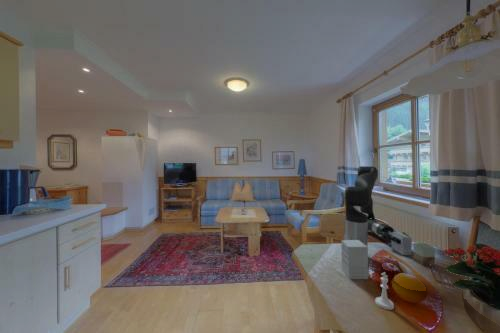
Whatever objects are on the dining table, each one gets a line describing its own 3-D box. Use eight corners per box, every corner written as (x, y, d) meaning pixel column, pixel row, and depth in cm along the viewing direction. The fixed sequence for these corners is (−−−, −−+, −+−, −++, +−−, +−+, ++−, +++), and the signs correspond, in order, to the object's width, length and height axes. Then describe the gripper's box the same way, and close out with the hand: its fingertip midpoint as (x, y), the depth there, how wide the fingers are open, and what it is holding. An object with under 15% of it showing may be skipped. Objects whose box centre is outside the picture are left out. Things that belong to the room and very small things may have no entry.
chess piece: (387, 311, 60) (387, 278, 60) (371, 301, 64) (371, 270, 64) (397, 306, 62) (397, 274, 62) (381, 297, 66) (381, 267, 66)
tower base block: (422, 266, 86) (422, 257, 86) (413, 260, 91) (413, 251, 91) (434, 266, 86) (434, 257, 86) (424, 260, 91) (424, 251, 91)
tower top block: (423, 257, 86) (423, 247, 86) (413, 251, 91) (413, 243, 91) (434, 257, 86) (434, 247, 86) (425, 251, 91) (425, 243, 91)
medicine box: (411, 255, 95) (412, 237, 95) (402, 255, 96) (402, 237, 95) (399, 248, 103) (399, 231, 103) (391, 248, 103) (391, 231, 103)
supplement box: (359, 269, 84) (359, 239, 83) (368, 280, 76) (368, 247, 76) (341, 269, 84) (340, 239, 84) (348, 279, 77) (348, 246, 77)
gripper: (369, 223, 114) (390, 234, 97) (395, 223, 113) (420, 234, 96) (369, 236, 114) (390, 249, 97) (395, 236, 114) (420, 249, 96)
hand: (405, 242), depth 97 cm, fingers closed on medicine box, 4 cm apart
